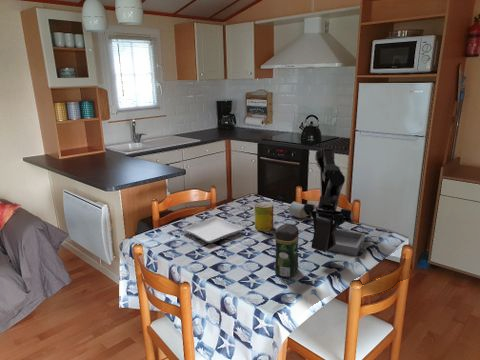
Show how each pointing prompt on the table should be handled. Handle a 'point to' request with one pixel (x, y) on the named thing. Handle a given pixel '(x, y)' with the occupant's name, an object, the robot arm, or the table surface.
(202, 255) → the table surface
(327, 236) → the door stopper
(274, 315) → the table surface
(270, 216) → the yellow green jar
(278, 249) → the coffee jar
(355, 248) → the box
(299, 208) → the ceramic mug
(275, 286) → the table surface
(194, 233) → the salad plate
